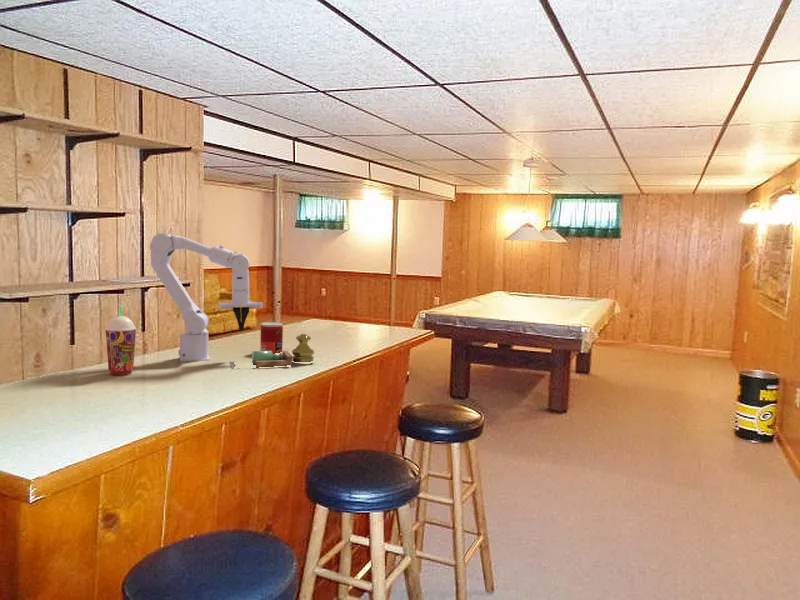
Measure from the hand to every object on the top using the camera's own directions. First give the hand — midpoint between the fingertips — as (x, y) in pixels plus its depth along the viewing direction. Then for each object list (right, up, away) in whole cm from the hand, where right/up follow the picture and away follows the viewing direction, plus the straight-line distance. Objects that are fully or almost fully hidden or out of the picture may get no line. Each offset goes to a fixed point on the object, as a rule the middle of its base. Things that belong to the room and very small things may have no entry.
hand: (241, 329), depth 207 cm
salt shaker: (+21, -12, -1) cm, 24 cm away
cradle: (+8, -12, -8) cm, 16 cm away
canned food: (+7, -10, +14) cm, 19 cm away
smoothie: (-29, -12, -26) cm, 41 cm away
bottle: (+6, -9, -8) cm, 13 cm away
